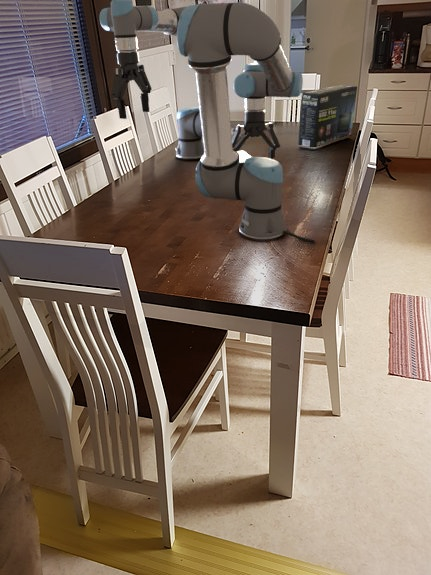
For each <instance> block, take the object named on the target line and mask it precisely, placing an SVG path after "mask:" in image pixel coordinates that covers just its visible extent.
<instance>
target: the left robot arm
mask: <svg viewBox="0 0 431 575" xmlns="http://www.w3.org/2000/svg"><path fill="white" fill-rule="evenodd" d="M187 6H188V5H187ZM187 6H181V7H175V8H164V9H163V10H157V9H156V8H155V7H153V6H151V5H134V2H133V0H111V2H110V7H105V8H102V9H101V11H100V13H99V22H100V23H99V24H100V25H101V27H102V29H103V30H104V31H107V32H113V35H114V41H115V42H114V43H115V49H116V51H117V53H116V58H117V64H118V65H120V66H119V68H114V70H113V72H114V76H113V81H112V82H113V83H112V89H111V95H110V96H111V99H113V100H115V101H116V107H117V110H118V116H119V119H121V120H127V119H128V117H127V116H128V115H127V110H126V102H125V99H124V95H125V92H126V90H127V86H128V83H130V82H132V81H134V82H135V84H136V85H137V87H138V88H139V90H140V91H141V93H140V99H141V100H140V101H141V108H142V113H144V112H145V113H150V105H149V103H150V99H149V98H150V97H149V94H151V91H152V88H153V87H152V86H151V84H150V81H149V79H148V76H147V73H146V71H145V66H144V64H140V54H139V52H138V51H137V50H139V44H138V37H137V32H139V33H140V32H142V33H144V32H146V33H163V34H164V35H167V36H175V37H177V27H178V22H179V18H180V15H181V13H182V11H183V10H184V9H185V8H186V7H187ZM274 121H275V122H276V123H277V121H276V120H274ZM176 126H177V138H178V143H177V147H174V148H175V149H174V150H175V157H176V159H177V160H179V161H184V162H185V161H186V162H189V161H190V162H192V161H200V160H201V157H202V155H203V154H204V153H205V151H204V143H203V134H202V126H201V117H200V109H199V106H192V107H186V108H182V109H179V110H178V111H177V112H176Z"/></svg>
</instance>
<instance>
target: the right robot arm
mask: <svg viewBox="0 0 431 575" xmlns="http://www.w3.org/2000/svg"><path fill="white" fill-rule="evenodd" d="M185 7H186V6H185ZM176 44H177V49H178V51H179V54H180V55H181V56H183V57H185V58H187V64H188V67H189V68H191V69H192V70H193V71H194V75H195V84H196V91H197V98H198V107H199V109H200V117H201V126H202V134H203V137H202V142H203V145H204V151H205V153H204V154H203V155H202V157H201V159H200V160H198V162H197V165H196V167H195V184H196V187H197V189H198V192H200V194H201V196H204V197H207V198H212V199H216V200H217V199H220V200H221V199H223V200H233V201H243V202H244V211H243V213H242V216H241V220H240V222H239V226H238V232H239V235H240V236H241V237H242V238H244V239H247V240H250V241H254V242H271V241H277V240H279V239H281V238H283V237H285V235H287V236H289V237H292V238H294V239H298V240H300V241H303V242H307V243H313V244H314V243H315V239H312V238H307V237H302V236H300V235H298V234H295V233H292V232H289V231H287V223H286V221H285V216H284V214H283V210H282V200H283V183H284V177H283V176H284V175H283V173H284V172H283V171H284V170H283V166H282V164H281V163H280V162H279V161H277V160H275V157H276V150H277V149H280V147H281V144H280V142H279V139H278V137H277V134H276V132H275V129H274V124H272V123H273V122H269V121H268V122H267V123H266V122H265V121H266V110H265V109H266V98H267V97H269V98H289V99H290V98H297V97H300V96H301V93H302V91H303V85H304V84H303V83H304V82H303V80H304V78H303V74H302V73H301V72H300V71H292V70H291V66H290V64H289V62H288V60H287V58H286V55H285V53H284V50H283V47H282V36H281V33H280V30H279V28H278V26H277V24H276V23H275V22H274V20H273V19H272V18H271V17H270V16H269V15H268V14H266V13H265V12H264V11H262V10H261V9H260V8H258V7H256V6H255V5H252V4H249V3H247V2H242V1H238V2H226V3H225V2H219V3H203V2H202V3H197V4H191V5H187V7H186V8H185V9H184V10H183V11H182V13H181V15H180V18H179V22H178V27H177V36H176ZM232 56H246V57H247V56H248V57H249V58H250V59H252V60H253V61H256V62H254V63H246V64H245V66H244V71H243V72H241V73H240V74H238V75H237V76H236V77H235V78H234V80H233V84H232V86H233V91H234V93H235V94H236V95H237V96H238V97H239V98H244V110H245V111H244V117H243V118H244V119H243V120H244V121H243V122H244V123H243V125H240V124H236V125H235V133H234V136H233V138H232V136H231V128H232V125H231V124H232V123H231V111H230V96H229V83H228V70H227V67H228V66H229V65H230V64H231V62H232ZM265 128H266V130H268V133H269V135H270V138H271V139H270V138H269V137H268V136H267V134H266V133H265ZM243 130H244V132H243V133H244V134H243V136H242V137H241V138H240V139H239V140H238V137H239V135H240V132H241V131H243ZM255 137H256V138H258V137H261V138H262V139H263V140H264V142H265V143H266V144H267V145H268V146H269V148H268V155H267V156H268V157H264V156H251V157H249V158H247V159H246V160H245V162H239V153H238V151H240V149H241V148H242V147H243V145H244V144H245V142H246V141H247V140H248V139H249V138H255ZM237 140H238V141H237ZM271 140H272V141H271Z"/></svg>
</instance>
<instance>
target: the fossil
mask: <svg viewBox="0 0 431 575" xmlns="http://www.w3.org/2000/svg"><path fill="white" fill-rule="evenodd" d="M235 131H236V128H234V127H231V136H232V138H233V136H234V133H235ZM244 133H245V132H244V131H243V130H242V131H241V132H240V135H239V137H238V140H237V142H238V141H239V140H240V139H241V136H243V134H244Z"/></svg>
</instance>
